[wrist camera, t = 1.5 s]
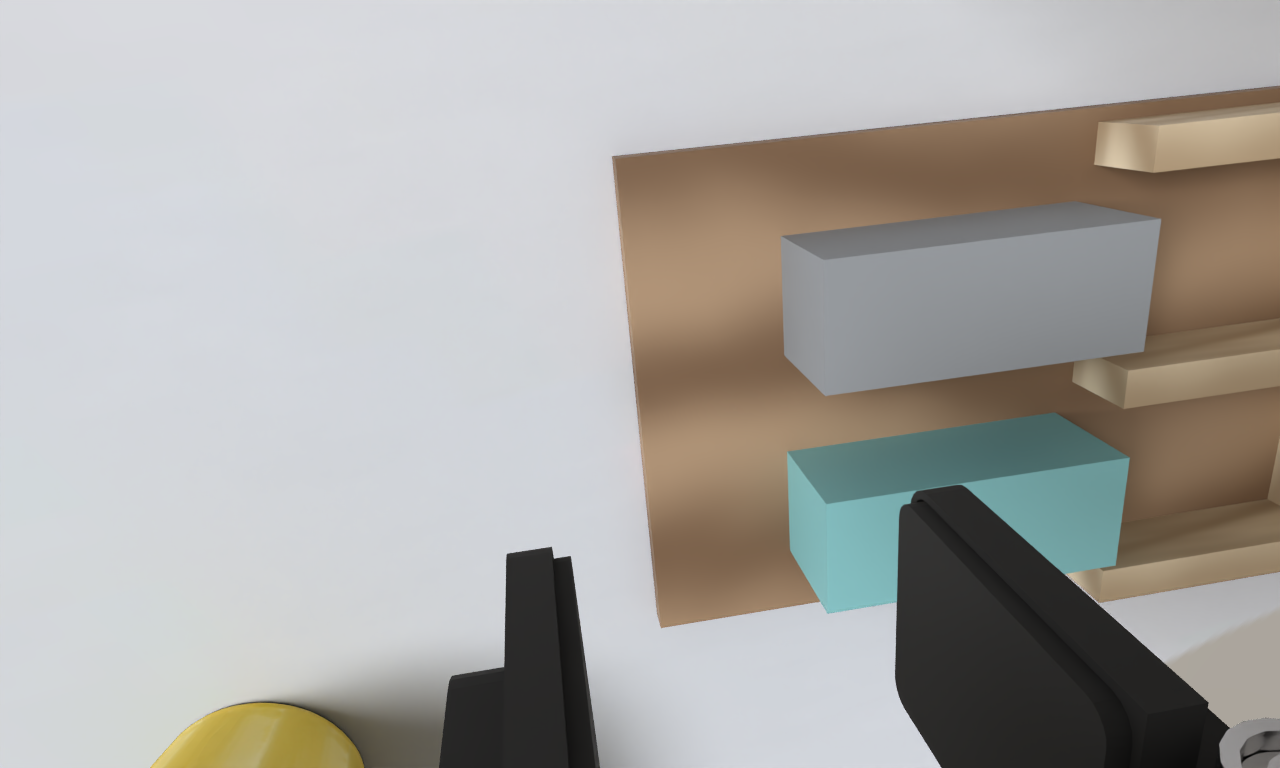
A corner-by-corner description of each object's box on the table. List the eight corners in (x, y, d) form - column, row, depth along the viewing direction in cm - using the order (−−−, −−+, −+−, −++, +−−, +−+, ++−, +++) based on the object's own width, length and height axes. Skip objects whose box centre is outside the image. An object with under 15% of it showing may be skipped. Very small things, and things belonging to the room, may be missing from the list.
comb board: (612, 156, 23) (626, 166, 20) (1385, 74, 25) (1501, 72, 22) (657, 613, 28) (673, 675, 25) (1292, 509, 31) (1375, 555, 28)
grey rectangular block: (780, 235, 23) (823, 260, 20) (1075, 201, 24) (1161, 218, 21) (784, 355, 25) (825, 396, 21) (1064, 318, 26) (1143, 351, 22)
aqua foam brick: (786, 451, 26) (826, 504, 23) (1054, 412, 27) (1130, 457, 24) (789, 550, 27) (827, 613, 24) (1045, 509, 28) (1115, 565, 25)
